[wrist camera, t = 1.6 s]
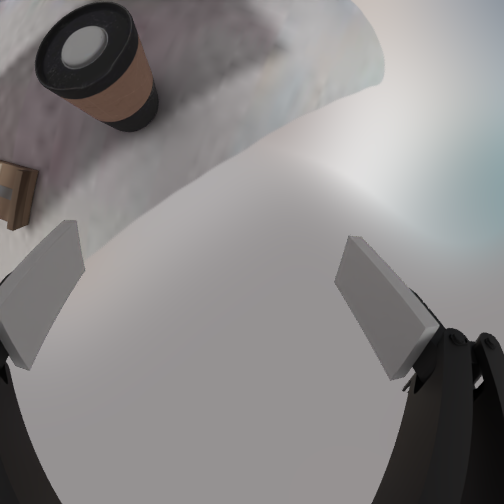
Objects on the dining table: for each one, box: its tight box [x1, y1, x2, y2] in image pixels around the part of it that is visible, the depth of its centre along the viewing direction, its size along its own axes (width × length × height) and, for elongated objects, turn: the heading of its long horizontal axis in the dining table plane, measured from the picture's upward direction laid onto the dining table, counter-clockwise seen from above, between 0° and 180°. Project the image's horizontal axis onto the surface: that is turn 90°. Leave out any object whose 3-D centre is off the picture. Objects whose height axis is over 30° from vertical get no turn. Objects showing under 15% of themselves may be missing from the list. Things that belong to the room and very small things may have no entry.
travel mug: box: [35, 2, 158, 132], centre depth 20 cm, size 8×8×20 cm
